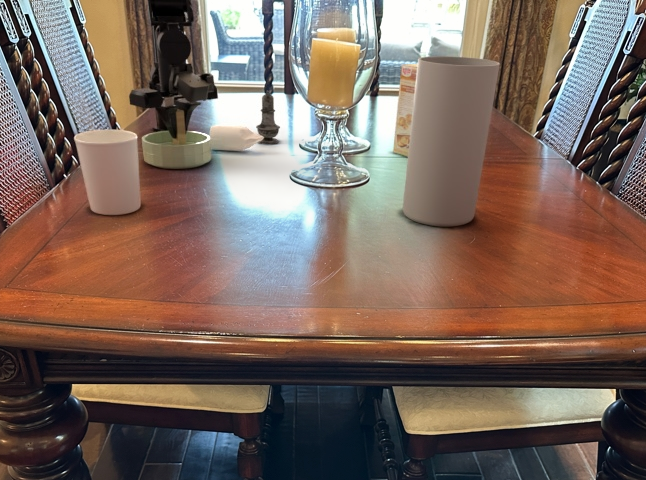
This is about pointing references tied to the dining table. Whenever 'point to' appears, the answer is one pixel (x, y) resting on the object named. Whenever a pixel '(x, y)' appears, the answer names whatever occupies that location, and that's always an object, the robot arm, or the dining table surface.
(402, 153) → the coffeecake box
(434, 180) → the cylinder vase
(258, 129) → the salt shaker
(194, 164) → the bowl
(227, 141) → the white milk carton
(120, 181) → the white cup
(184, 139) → the stick
